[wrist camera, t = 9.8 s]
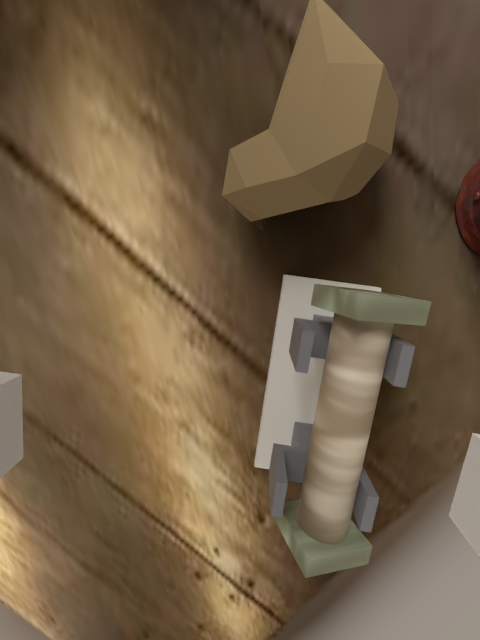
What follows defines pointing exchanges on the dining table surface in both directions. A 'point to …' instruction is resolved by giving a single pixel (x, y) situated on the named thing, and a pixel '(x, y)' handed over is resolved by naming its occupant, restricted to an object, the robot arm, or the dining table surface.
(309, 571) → the column
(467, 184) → the lantern
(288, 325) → the bracket
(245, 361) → the dining table surface
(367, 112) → the low-poly potato
